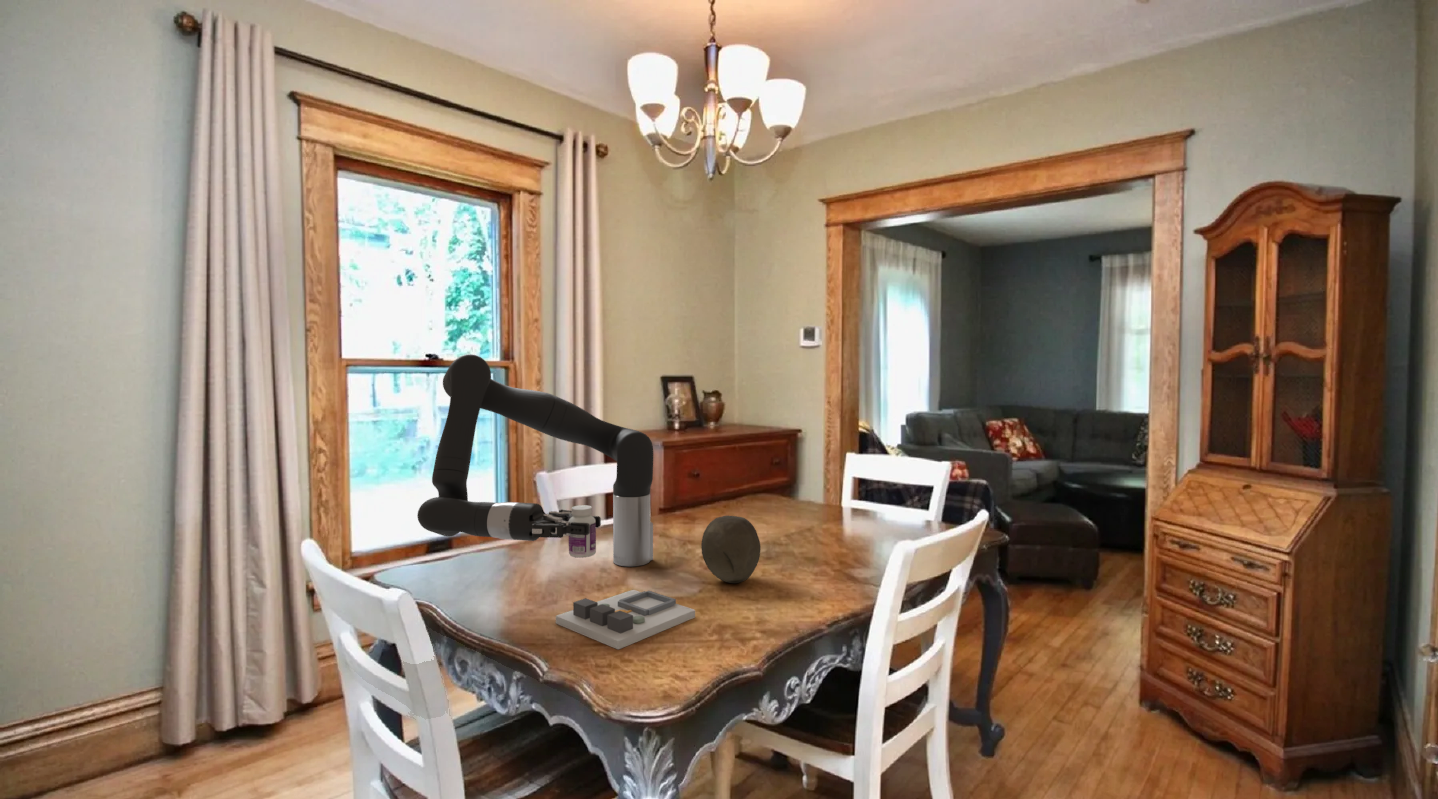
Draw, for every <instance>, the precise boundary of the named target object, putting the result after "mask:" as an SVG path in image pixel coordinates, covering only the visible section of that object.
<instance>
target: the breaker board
mask: <svg viewBox="0 0 1438 799" xmlns="http://www.w3.org/2000/svg"><path fill="white" fill-rule="evenodd" d="M572 603H573V604H572V606H573V609H572V610H569V611H568V610H567V611H566V612H563V613H560V614H557V615H555V624H556V625H558V626H561V627H563V628H566V629H568V630H570V631H573V632H575V633H578V634H580V635H582V636H585V637H587V638H589V639H592V640H593V641H594V640H595V641H597V642H598V643H601V644H603V645H607V646H609V647H611V648H614V649H616V650H621V649H623V648H625V647H628V646H630V645H633V644H634V643H635V644H636V643H637V642H640V641H642V640H644V639H646V638H647V639H648V638H649V637H652V636H654V635H657V634H659V633H661V632H663V631H666V630H668V629H671V628H673V627H675V626H678V625H680V624H683V623H685V622H687V621H690V620H692V619H695V618H696V610H695V609H694V608H690V607H688V606H684V605H681V604H678V603H677V598H673V597H671V596H667V595H664V594H662V593H661V594H660V593H658V592H656V591H655V592H654V591H652V590H647V591H645V590H644V591H638V590H636V589H631V590H628V591H625V592H622V593H619V594H616V595H614V596H610V597H607V598H604V599H601V600H598V601H595V600H591V599H589V598H588V597H587V598H586V597H585V598H582V599H579V600H576V601H572Z"/></svg>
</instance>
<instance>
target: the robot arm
mask: <svg viewBox="0 0 1438 799" xmlns="http://www.w3.org/2000/svg"><path fill="white" fill-rule="evenodd" d="M442 388H443V390H444V392H445V393H446V394H447V396H448V397H449V398H450V399H449V406H448V411H447V416H446V420H445V423H444V427H443V430H442V433H441V437H440V440H439V443H438V446H437V450H436V455H435V458H434V459H435V460H434V466H433V472H432V476H431V483H432V485H433V486H434V488H435V489H436V490H437V494H438V496H437V497H436V496H435V497H432V498H429V499H428V500H426V501H424V502H423V503H422V504H420V506H419V508H418V511H417V520H418V522H419V523H418V524H420V526H421V527H422V528H423V529H424V530H426V531H429V532H431V533H433V534H437V535H440V536H443V537H455V536H456V535H458V534H459V533H462V534H463V533H464V534H467V535H471V536H474V537H483V538H485V537H487V538H496V539H500V540H508V541H509V540H511V541H512V540H513V541H526V542H534V541H535V542H536V541H537V540H538V539H540V538H551V539H552V538H553V539H554V538H556V539H557V538H559V539H562V538H563V537H564V536H566V537H567V536H568V537H569V535H570V533H571V534H576V535H588V534H589V533H590V525H589V524H588V523H576V522H572V523H571V524H570V522H569V519H570V518H571V517H573V515H572V510H567V509H559V510H558V511H557V510H554V511H549V512H548V513H546V512H545V511H544V508H543V506H542V505H541V504H540V503H538V502H537V503H533V502H517V501H516V502H515V501H513V502H512V501H504V502H503V501H502V502H490V501H479V502H478V501H470V500H469V501H468V497H469V496H468V494H469V493H468V484H467V482H468V477H469V472H470V465H471V459H472V454H473V453H472V452H473V446H474V439H475V433H476V427H477V422H478V418H479V414H480V410H481V409H482V410H485V411H489V412H491V413H494V414H498V415H499V416H502V417H504V418H506V419H510V420H511V421H513V422H516V423H519V424H521V425H523V426H526V427H528V428H531V429H534V430H535V431H537V432H540V433H542V434H544V435H548V436H550V437H553V438H556V439H559V440H561V441H566V442H568V443H569V442H570V443H574V444H577V445H582V446H586V447H589V448H592V449H594V450H596V451H598V452H599V453H602V454H603V455H605V456H607V457H609V458H610V459H612V460H613V461H616V477H615V478H616V479H615V481H614V482H613V485H612V487H613V488H612V489H613V490H612V501H613V502H612V508H613V509H612V510H613V511H612V513H613V514H612V516H613V517H612V521H613V522H612V526H613V528H612V530H613V531H612V532H613V533H612V534H613V537H612V539H613V540H612V542H613V543H612V544H613V546H612V547H613V548H612V552H613V553H612V554H613V555H612V556H613V558H612V560H613V561H612V562H613V564H615V565H618V566H620V567H621V566H622V567H641V566H644V565H647V564H648V563H650V562H651V561H652V560H654V523H653V522H652V521H651V487H652V484H653V478H654V476H653V475H654V446H653V442H652V439H651V438H650V437H649V436H648V435H647V434H646V433H644V432H642V431H639V430H637V429H636V430H635V429H632V428H629V427H623V426H620V425H617V424H614V423H610V422H608V421H604V420H602V419H600V418H598V417H596V416H595V415H593V414H591V413H590V412H588V411H587V410H585V409H584V408H581V407H579V406H578V405H576V404H574V403H572V402H570V401H568V400H566V399H565V398H564V399H563V398H560V397H558V396H556V395H554V394H551V393H549V392H544V391H539V390H533V389H527V388H517V387H512V386H509V385H506V384H503V383H501V382H499V381H496V380H494V379H492V371H491V368H490V365H489V364H488V363H487V361H486V360H485V359H484V358H482V357H481V356H479V355H476V354H471V353H469V354H464V355H463V354H462V355H461V356H458V357H457V358H455V359H454V360H453V362H451V363H450V365H449V367H448V368H447V370H446V371H445V374H444V375H443V378H442ZM592 516H593V517H594V518H595V521H596V529H597V528H600V527H601V524H602V521H601V520H602V518H601V516H598V515H592Z"/></svg>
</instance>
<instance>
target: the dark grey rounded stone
mask: <svg viewBox="0 0 1438 799" xmlns="http://www.w3.org/2000/svg"><path fill="white" fill-rule="evenodd" d="M700 548H701V554H702V558H703V562H704V563H705V565H706V567H707V568H708V570H709V571H710V572H711V574H713V575H714V576H715V577H716V578H718V579H719V580H721V581H722V582H725V583H728V584H738V583H742V582H745V581H746V580H748V579H749V578H750V577H751V576H752V574H753V573H754V572H755V571H756V568H757V566H758V564H759V562H760V561H759V560H760V556H761V542H760V538H759V536H758V532H757V530H756V527H755V526H754V525H753V524H752V523H751V522H750V520H748V519H747V518H746V517H743V516H737V515H736V516H735V515H722V516H719V517H715V518H714V519H712V520H711V521H710V522H709V524H708V525H707V526H706V528H705V529H704V532H703V534H702V538H701V546H700Z"/></svg>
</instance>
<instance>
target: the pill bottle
mask: <svg viewBox="0 0 1438 799" xmlns="http://www.w3.org/2000/svg"><path fill="white" fill-rule="evenodd" d="M571 511H572V515H573V517H571V518H570V519H569V522H570V524H571V523H572V522H576V523H588V524H589V525H590V533H589V534H588V535H576V534H571V533H570V535H568V555H569V556H570V557H572V558H579V559H581V558H582V559H583V558H589V557H592V556H595V554H596V552H597V532H596V531H597V528H596V521H595V518H594V517H593V516H594V515H592V514H593V507H592V506H591V505H587V504H583V505H582V504H581V505H574V506H572V507H571Z"/></svg>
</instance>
